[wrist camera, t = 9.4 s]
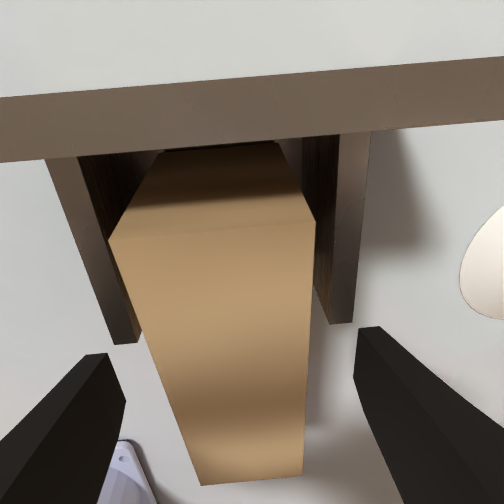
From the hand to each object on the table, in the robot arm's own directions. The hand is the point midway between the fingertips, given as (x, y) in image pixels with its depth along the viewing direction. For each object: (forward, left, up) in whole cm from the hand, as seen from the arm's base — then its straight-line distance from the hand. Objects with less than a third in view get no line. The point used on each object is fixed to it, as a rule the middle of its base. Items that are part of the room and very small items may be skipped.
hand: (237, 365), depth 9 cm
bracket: (+4, 0, -4) cm, 6 cm away
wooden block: (+1, 0, -4) cm, 4 cm away
